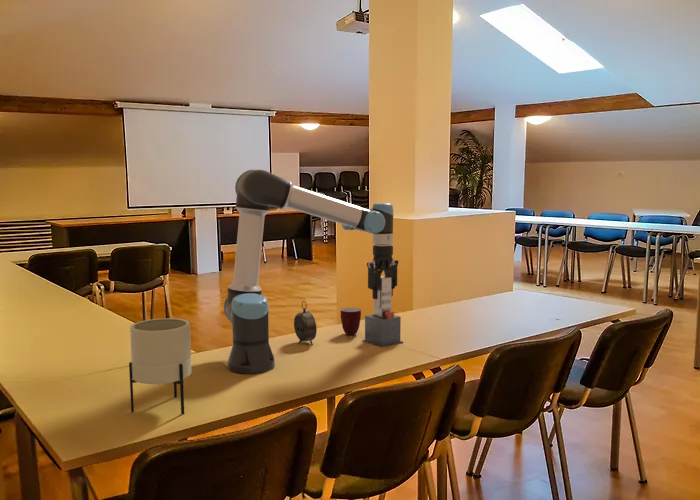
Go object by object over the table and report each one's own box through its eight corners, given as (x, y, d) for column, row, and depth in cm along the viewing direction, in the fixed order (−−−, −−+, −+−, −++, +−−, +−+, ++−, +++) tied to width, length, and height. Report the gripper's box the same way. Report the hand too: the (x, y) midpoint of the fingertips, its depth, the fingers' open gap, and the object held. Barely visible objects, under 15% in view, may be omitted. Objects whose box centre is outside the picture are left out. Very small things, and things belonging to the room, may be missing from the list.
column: (382, 342, 227) (382, 278, 225) (374, 339, 231) (374, 277, 229) (391, 340, 230) (392, 277, 227) (383, 337, 234) (383, 275, 231)
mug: (359, 338, 236) (359, 313, 234) (338, 338, 236) (338, 313, 235) (361, 332, 246) (361, 307, 245) (341, 331, 247) (341, 307, 246)
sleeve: (380, 347, 223) (380, 314, 222) (362, 341, 232) (362, 309, 231) (403, 342, 230) (403, 310, 228) (384, 336, 239) (384, 305, 237)
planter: (129, 402, 169) (125, 321, 167) (188, 394, 176) (185, 315, 173) (133, 422, 155) (129, 334, 153) (196, 413, 162) (193, 327, 159)
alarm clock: (317, 345, 226) (317, 302, 224) (304, 347, 223) (304, 304, 222) (304, 339, 236) (303, 297, 234) (291, 341, 233) (291, 299, 231)
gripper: (370, 247, 219) (370, 311, 221) (407, 244, 229) (407, 305, 232) (357, 245, 225) (357, 307, 227) (394, 242, 235) (394, 301, 238)
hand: (382, 306), depth 229 cm, fingers open, 5 cm apart
